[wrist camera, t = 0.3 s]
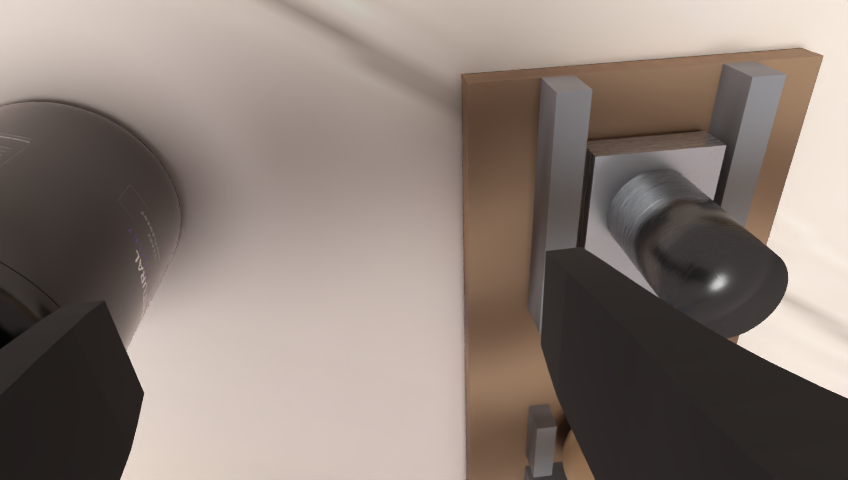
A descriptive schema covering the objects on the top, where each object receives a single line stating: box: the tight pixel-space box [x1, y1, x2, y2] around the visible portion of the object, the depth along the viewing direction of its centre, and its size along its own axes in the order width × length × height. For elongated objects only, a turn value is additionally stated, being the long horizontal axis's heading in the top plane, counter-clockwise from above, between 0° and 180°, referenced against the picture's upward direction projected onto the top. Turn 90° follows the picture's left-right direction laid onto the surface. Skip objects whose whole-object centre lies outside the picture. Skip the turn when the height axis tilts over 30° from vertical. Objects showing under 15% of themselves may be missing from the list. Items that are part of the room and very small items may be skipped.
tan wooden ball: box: [563, 429, 595, 480], centre depth 24 cm, size 4×4×4 cm
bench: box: [462, 48, 823, 480], centre depth 21 cm, size 20×11×4 cm, turn 3°
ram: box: [576, 131, 788, 338], centre depth 18 cm, size 7×4×6 cm, turn 3°
